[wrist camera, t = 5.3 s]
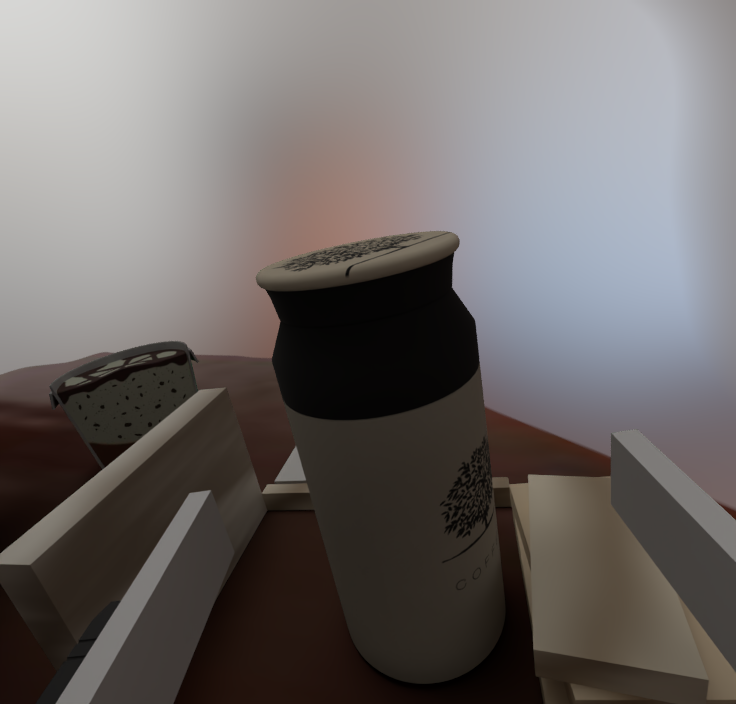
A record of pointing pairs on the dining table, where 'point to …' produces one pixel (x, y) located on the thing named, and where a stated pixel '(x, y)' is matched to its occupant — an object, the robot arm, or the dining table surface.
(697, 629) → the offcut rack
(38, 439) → the dining table surface
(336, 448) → the travel mug
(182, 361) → the food container
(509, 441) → the dining table surface
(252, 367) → the dining table surface
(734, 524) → the robot arm
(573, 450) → the dining table surface
